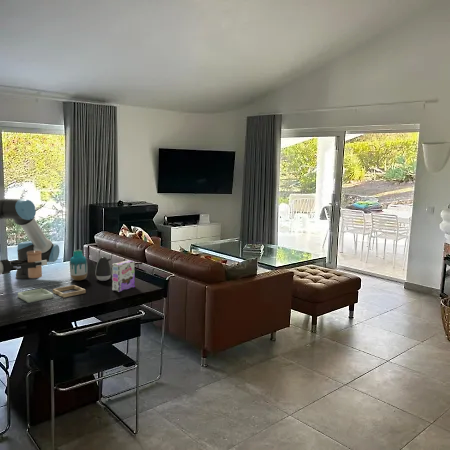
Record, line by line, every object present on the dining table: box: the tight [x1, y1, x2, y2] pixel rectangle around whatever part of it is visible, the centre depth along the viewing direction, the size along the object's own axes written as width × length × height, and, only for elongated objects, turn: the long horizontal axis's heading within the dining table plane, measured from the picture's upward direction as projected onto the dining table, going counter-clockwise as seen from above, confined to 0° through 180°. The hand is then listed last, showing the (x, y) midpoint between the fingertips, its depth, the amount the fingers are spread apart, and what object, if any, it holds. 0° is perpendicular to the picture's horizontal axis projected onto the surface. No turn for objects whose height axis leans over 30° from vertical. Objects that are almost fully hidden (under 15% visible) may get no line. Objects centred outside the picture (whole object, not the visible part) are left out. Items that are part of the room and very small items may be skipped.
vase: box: [69, 249, 88, 281], centre depth 289 cm, size 11×11×19 cm
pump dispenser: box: [95, 256, 112, 282], centre depth 292 cm, size 10×10×15 cm
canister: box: [27, 251, 43, 279], centre depth 250 cm, size 8×8×14 cm
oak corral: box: [52, 284, 87, 298], centre depth 263 cm, size 14×14×2 cm
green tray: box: [17, 287, 54, 304], centre depth 253 cm, size 14×14×2 cm
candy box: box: [111, 259, 136, 293], centre depth 272 cm, size 14×6×16 cm, turn 148°
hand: (43, 261), depth 254 cm, fingers closed on canister, 7 cm apart
